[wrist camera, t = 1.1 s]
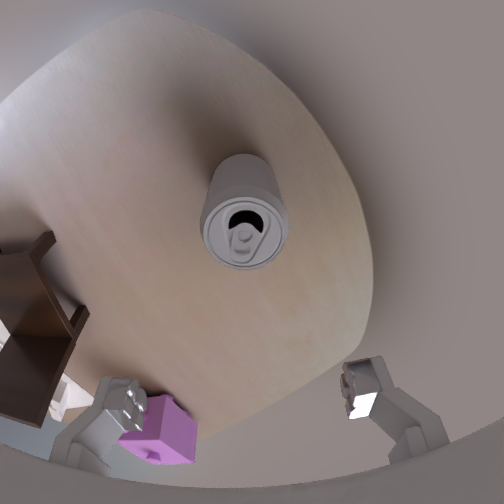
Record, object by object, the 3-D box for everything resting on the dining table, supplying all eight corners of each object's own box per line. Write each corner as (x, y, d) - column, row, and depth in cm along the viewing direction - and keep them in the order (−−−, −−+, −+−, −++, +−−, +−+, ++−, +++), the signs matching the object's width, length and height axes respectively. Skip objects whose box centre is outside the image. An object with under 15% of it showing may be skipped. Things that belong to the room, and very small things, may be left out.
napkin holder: (67, 409, 57) (61, 427, 52) (32, 382, 51) (24, 400, 47) (101, 402, 53) (95, 424, 48) (62, 371, 48) (52, 393, 43)
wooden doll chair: (-8, 244, 33) (-85, 329, 16) (52, 230, 33) (-39, 339, 16) (29, 316, 41) (-23, 407, 23) (90, 315, 40) (40, 429, 23)
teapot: (203, 423, 56) (200, 475, 46) (163, 427, 58) (156, 475, 47) (150, 370, 47) (136, 434, 36) (107, 376, 48) (90, 433, 37)
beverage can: (279, 156, 30) (300, 198, 19) (268, 214, 33) (281, 279, 23) (216, 148, 29) (201, 185, 19) (209, 206, 32) (194, 270, 22)
